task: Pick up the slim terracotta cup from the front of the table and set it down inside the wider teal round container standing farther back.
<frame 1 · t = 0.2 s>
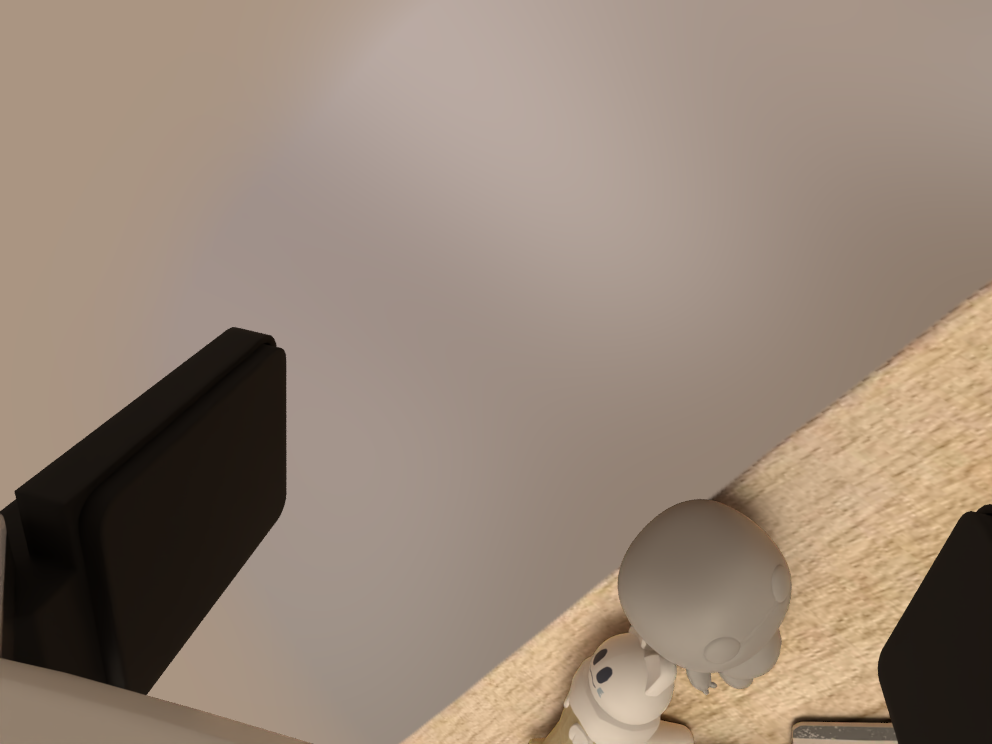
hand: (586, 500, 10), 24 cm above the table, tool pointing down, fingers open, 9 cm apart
figurine 2: (759, 666, 41), point 2 cm above the table
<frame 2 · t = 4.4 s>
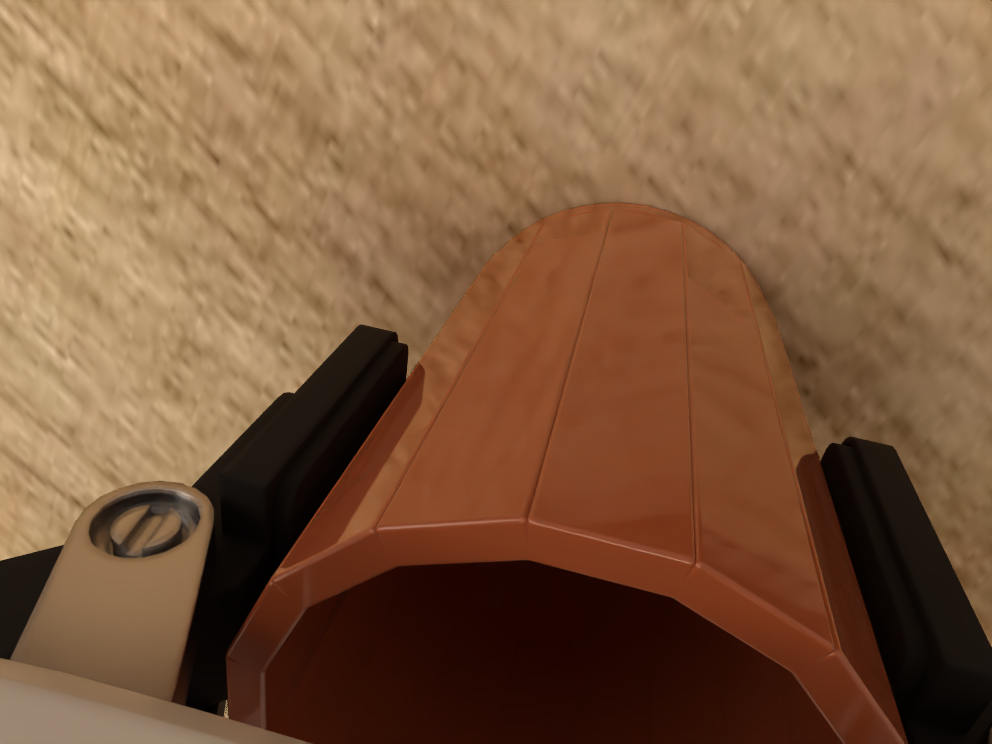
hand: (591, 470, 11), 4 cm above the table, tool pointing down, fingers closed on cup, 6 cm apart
cup: (611, 354, 14), on the table, touching gripper
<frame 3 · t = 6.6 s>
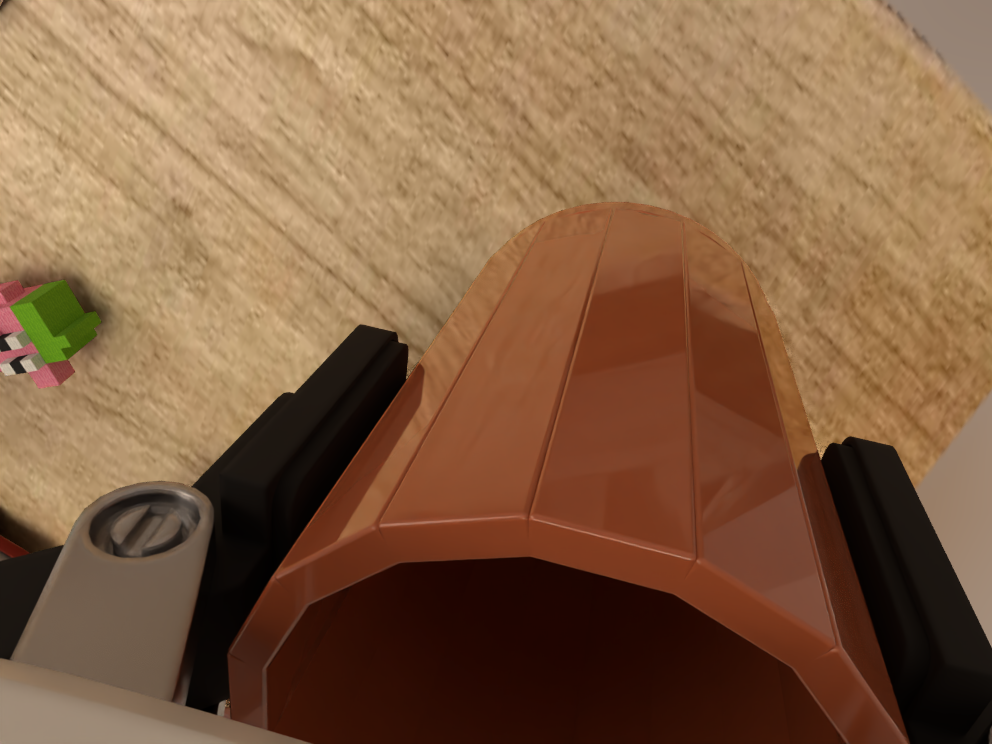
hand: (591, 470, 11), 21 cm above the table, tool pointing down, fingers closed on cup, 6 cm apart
cup: (612, 353, 14), point 17 cm above the table, touching gripper
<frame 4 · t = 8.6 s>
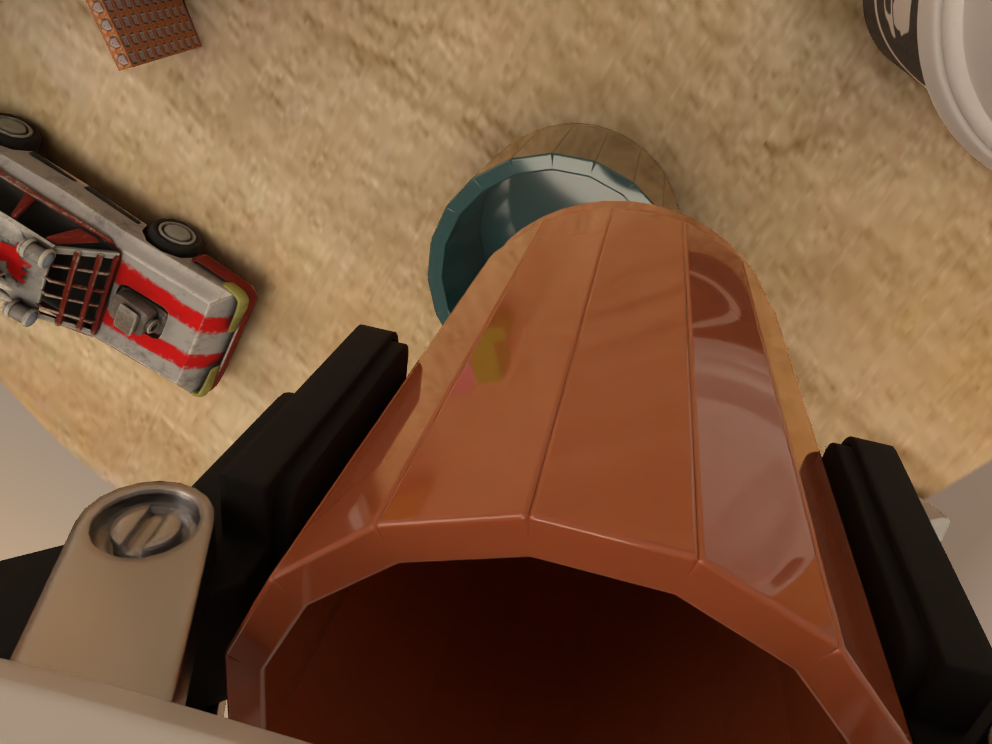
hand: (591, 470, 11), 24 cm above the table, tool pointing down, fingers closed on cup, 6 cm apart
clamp: (713, 477, 39), on the table
cup: (612, 352, 14), point 20 cm above the table, touching gripper
teal round container: (572, 231, 33), on the table
toy car: (110, 239, 39), on the table
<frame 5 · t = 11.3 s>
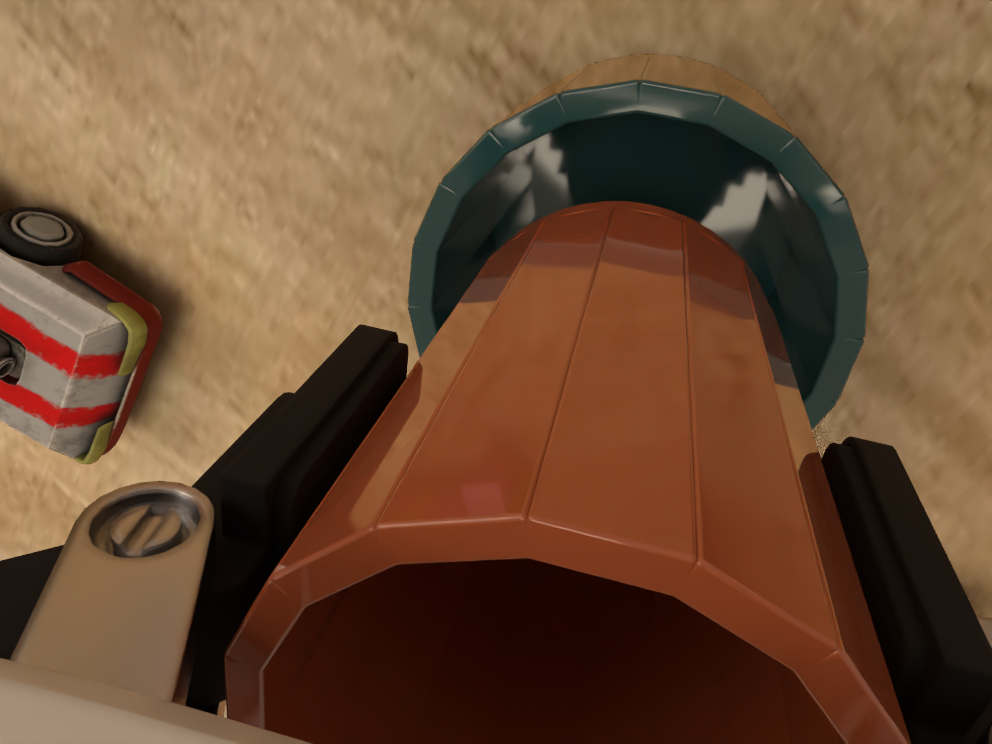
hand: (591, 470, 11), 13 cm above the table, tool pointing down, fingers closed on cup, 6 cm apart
cup: (611, 352, 14), point 9 cm above the table, touching gripper
teal round container: (637, 229, 22), on the table
when the fingers open (7 cm above the table, at t = 13.3 s): cup drops 3 cm, resting on teal round container.
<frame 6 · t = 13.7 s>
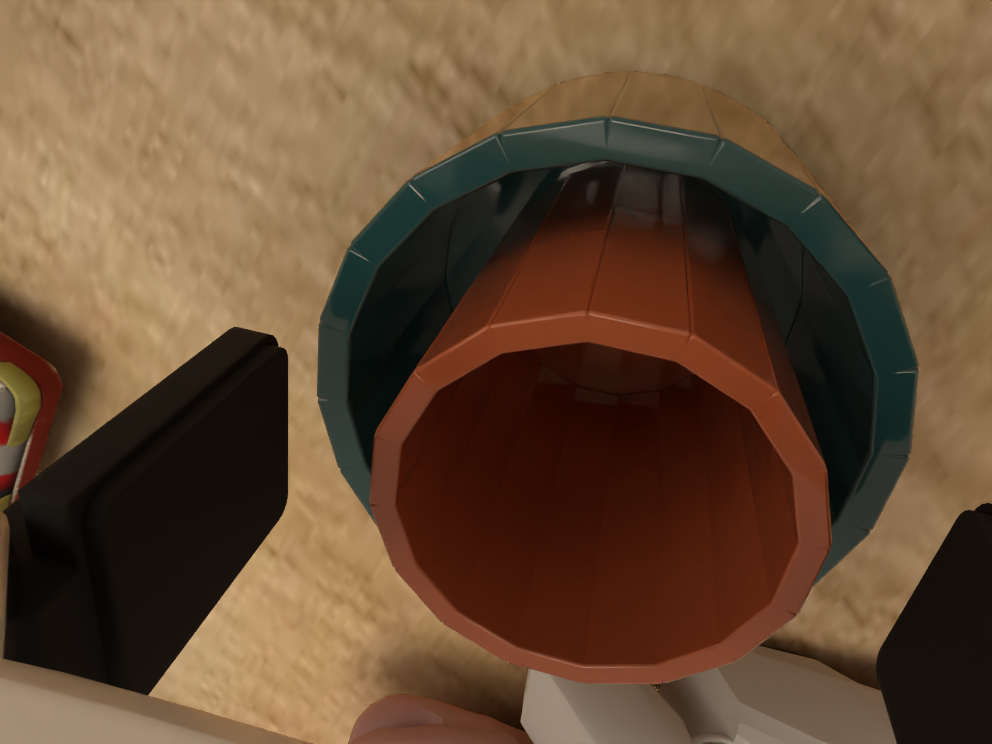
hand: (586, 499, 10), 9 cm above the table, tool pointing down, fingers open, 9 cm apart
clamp: (840, 678, 23), on the table
figurine: (501, 738, 27), on the table
cup: (622, 286, 17), point 1 cm above the table, touching teal round container
teal round container: (616, 279, 18), on the table
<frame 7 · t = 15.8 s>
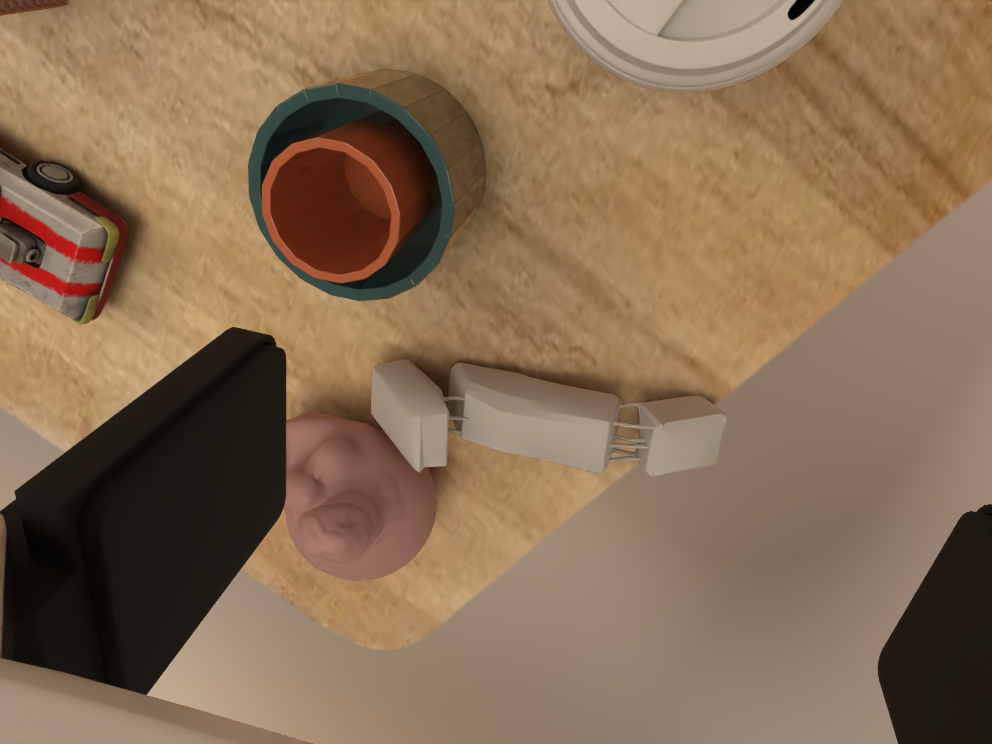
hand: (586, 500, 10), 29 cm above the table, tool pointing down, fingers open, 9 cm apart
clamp: (542, 391, 44), on the table
figurine: (372, 450, 47), on the table
cup: (396, 168, 38), point 1 cm above the table, touching teal round container
teal round container: (397, 167, 38), on the table
toy car: (0, 183, 43), on the table
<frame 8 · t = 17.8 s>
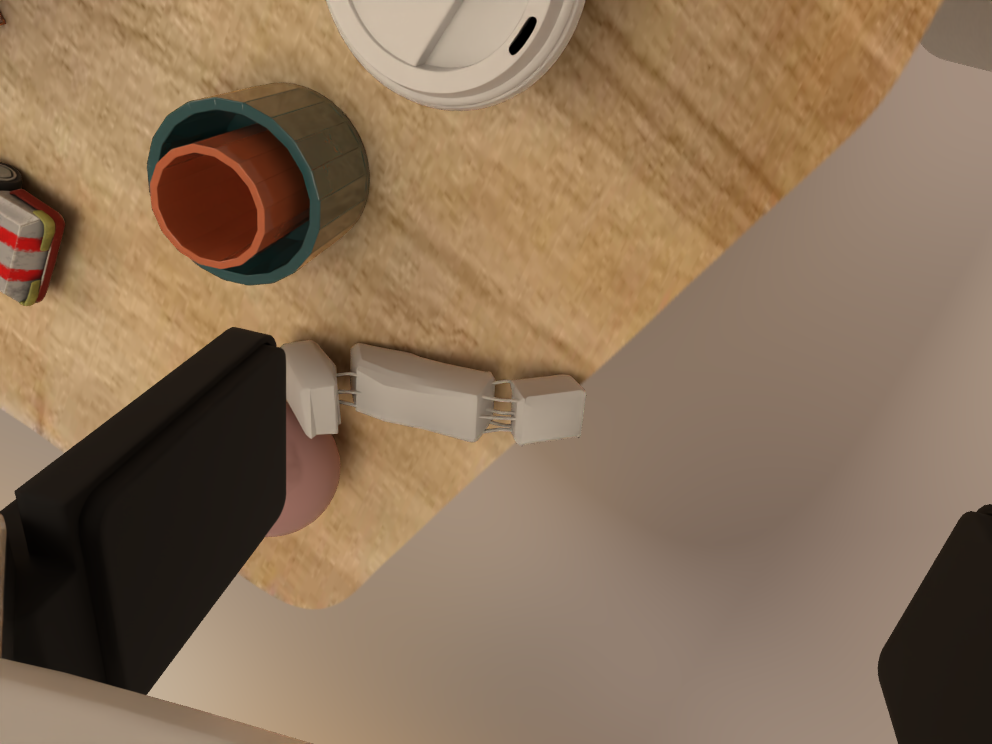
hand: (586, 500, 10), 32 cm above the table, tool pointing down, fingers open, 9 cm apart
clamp: (434, 370, 48), on the table
figurine: (290, 423, 52), on the table
cup: (291, 169, 43), point 1 cm above the table, touching teal round container
teal round container: (293, 168, 43), on the table
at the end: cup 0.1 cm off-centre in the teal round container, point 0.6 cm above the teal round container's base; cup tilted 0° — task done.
